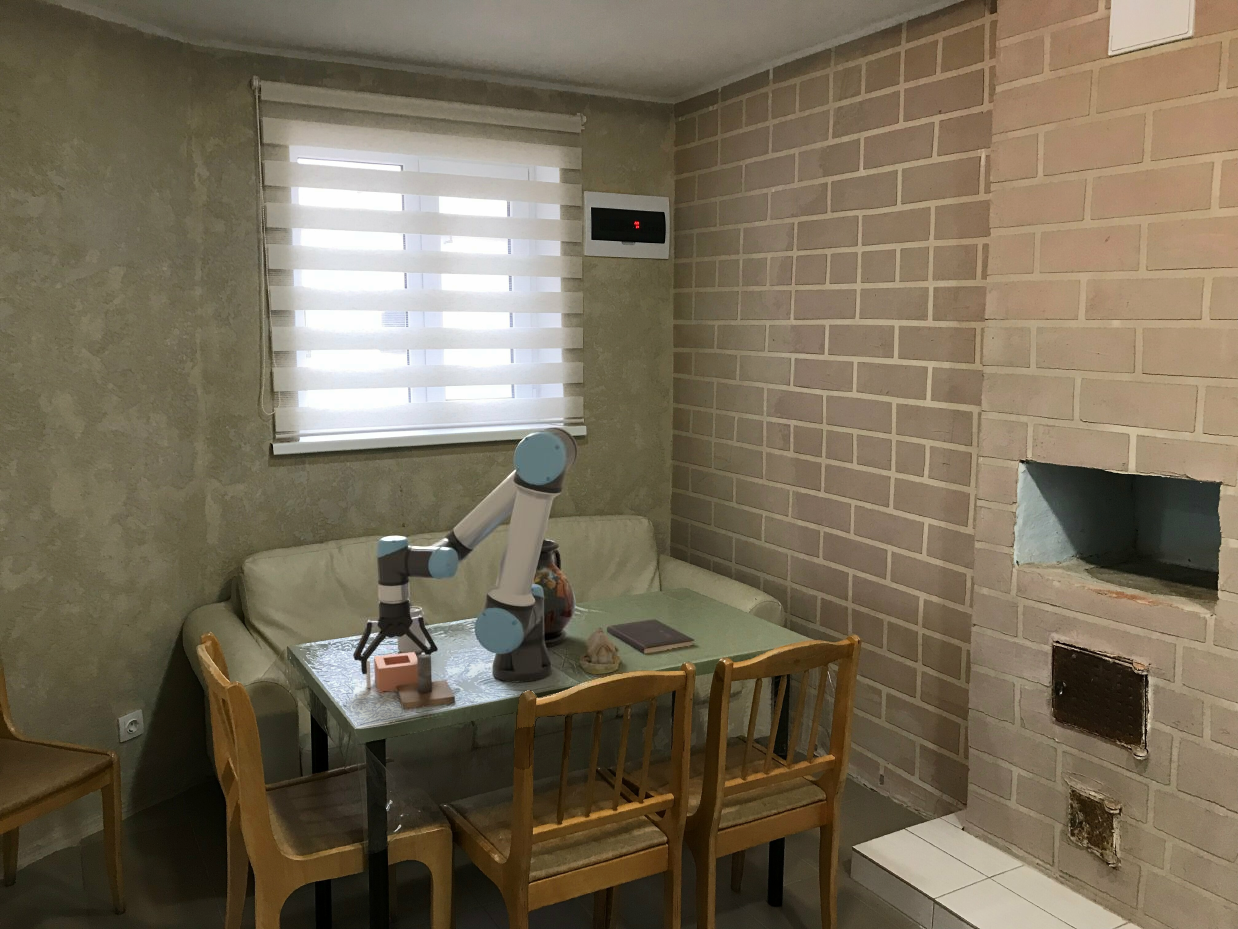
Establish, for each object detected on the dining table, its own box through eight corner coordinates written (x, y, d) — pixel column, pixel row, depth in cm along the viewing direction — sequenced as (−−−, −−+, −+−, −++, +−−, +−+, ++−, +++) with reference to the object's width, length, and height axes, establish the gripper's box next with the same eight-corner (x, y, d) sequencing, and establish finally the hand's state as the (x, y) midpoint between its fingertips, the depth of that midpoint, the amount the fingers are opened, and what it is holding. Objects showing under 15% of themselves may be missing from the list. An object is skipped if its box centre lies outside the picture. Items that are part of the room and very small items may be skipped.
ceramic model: (577, 658, 260) (577, 621, 259) (618, 656, 261) (618, 619, 260) (582, 675, 246) (582, 637, 245) (626, 673, 248) (625, 635, 246)
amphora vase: (541, 657, 260) (539, 554, 257) (484, 642, 273) (481, 545, 270) (591, 637, 277) (590, 541, 274) (535, 625, 290) (533, 533, 287)
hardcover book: (655, 626, 290) (655, 619, 290) (694, 647, 270) (694, 639, 269) (606, 633, 283) (606, 626, 283) (643, 656, 263) (643, 647, 262)
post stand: (446, 685, 239) (445, 646, 238) (455, 702, 228) (453, 661, 226) (396, 692, 235) (395, 652, 234) (403, 709, 224) (401, 667, 222)
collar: (415, 674, 247) (414, 652, 246) (421, 687, 238) (420, 664, 237) (374, 679, 244) (373, 656, 243) (379, 692, 234) (378, 668, 234)
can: (411, 645, 272) (409, 603, 270) (431, 649, 268) (430, 607, 266) (392, 652, 265) (390, 609, 264) (412, 657, 261) (411, 613, 260)
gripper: (442, 591, 246) (444, 672, 248) (340, 600, 237) (343, 683, 240) (447, 598, 239) (449, 681, 241) (342, 608, 230) (345, 694, 233)
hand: (396, 683), depth 241 cm, fingers open, 13 cm apart
